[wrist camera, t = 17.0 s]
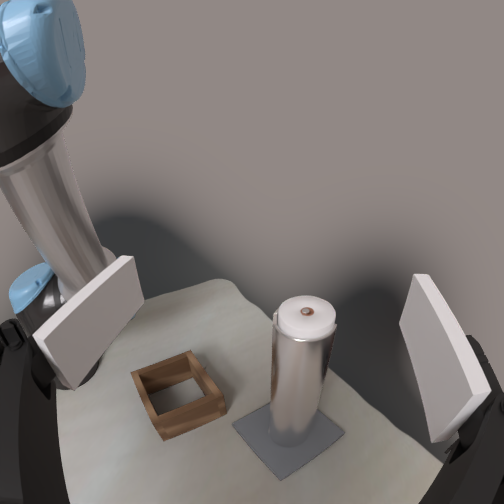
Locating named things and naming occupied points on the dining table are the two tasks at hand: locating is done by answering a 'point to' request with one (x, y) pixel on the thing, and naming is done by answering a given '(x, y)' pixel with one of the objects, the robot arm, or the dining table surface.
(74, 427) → the dining table surface
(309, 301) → the shiny metal cylinder
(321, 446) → the mat
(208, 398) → the square wooden frame
